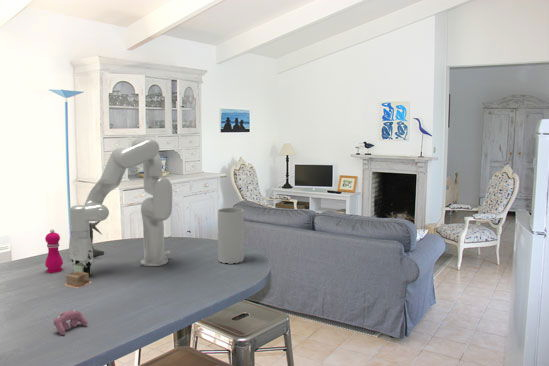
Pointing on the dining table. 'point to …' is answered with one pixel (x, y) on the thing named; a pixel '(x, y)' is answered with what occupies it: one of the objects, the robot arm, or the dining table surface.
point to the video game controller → (69, 315)
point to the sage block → (79, 267)
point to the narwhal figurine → (92, 226)
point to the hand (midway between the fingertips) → (82, 274)
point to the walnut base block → (77, 278)
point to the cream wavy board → (78, 286)
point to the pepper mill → (53, 253)
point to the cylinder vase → (230, 235)
